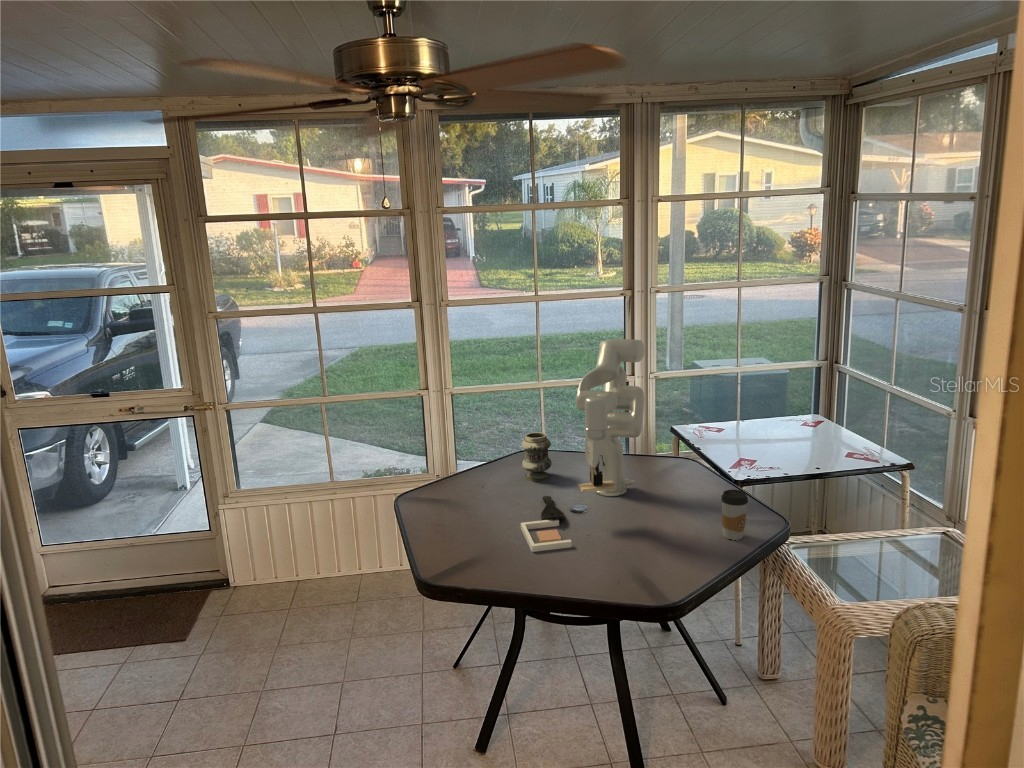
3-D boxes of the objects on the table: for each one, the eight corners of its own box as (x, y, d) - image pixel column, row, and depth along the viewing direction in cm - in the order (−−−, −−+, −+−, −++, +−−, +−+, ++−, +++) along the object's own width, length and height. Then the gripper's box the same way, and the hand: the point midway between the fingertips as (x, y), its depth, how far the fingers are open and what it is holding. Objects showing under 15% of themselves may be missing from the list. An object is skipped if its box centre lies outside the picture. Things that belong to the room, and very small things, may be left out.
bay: (557, 524, 246) (557, 518, 245) (571, 547, 228) (571, 541, 228) (520, 528, 243) (520, 522, 243) (531, 552, 226) (531, 546, 226)
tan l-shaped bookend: (578, 487, 245) (578, 465, 243) (611, 483, 247) (611, 461, 246) (582, 492, 241) (582, 470, 239) (616, 488, 243) (616, 466, 241)
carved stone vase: (537, 469, 298) (536, 428, 294) (558, 476, 290) (557, 434, 285) (516, 476, 290) (515, 435, 286) (537, 484, 282) (535, 441, 278)
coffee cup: (732, 544, 226) (734, 500, 223) (714, 534, 234) (715, 492, 230) (751, 538, 230) (754, 495, 226) (733, 528, 237) (734, 487, 234)
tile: (556, 533, 240) (556, 529, 239) (561, 542, 233) (561, 538, 233) (536, 535, 239) (536, 531, 238) (540, 544, 232) (540, 540, 232)
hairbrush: (556, 490, 268) (566, 513, 243) (556, 499, 268) (567, 523, 244) (534, 491, 267) (543, 515, 243) (535, 501, 268) (543, 525, 243)
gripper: (578, 426, 248) (579, 476, 252) (592, 440, 232) (592, 492, 236) (599, 424, 249) (599, 473, 253) (614, 438, 233) (614, 490, 237)
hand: (596, 482), depth 245 cm, fingers closed on tan l-shaped bookend, 3 cm apart
